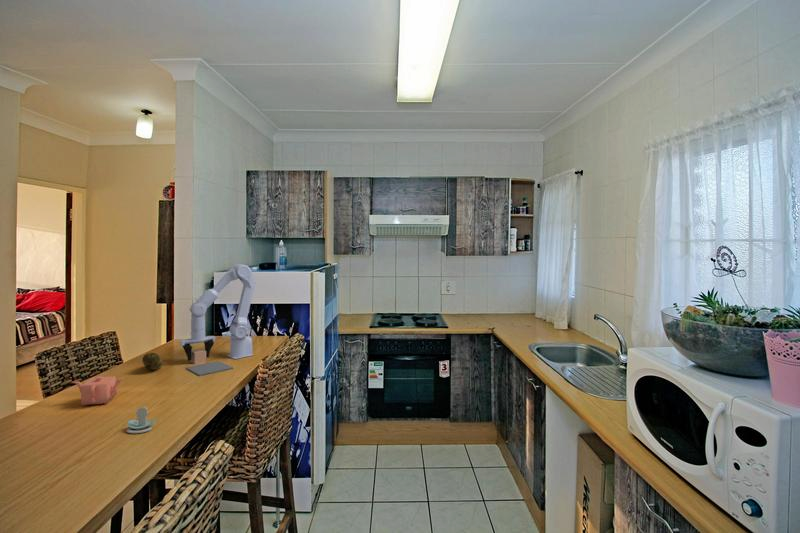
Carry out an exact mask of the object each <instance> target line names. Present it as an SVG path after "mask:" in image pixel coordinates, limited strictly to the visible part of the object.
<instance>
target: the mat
mask: <svg viewBox="0 0 800 533" xmlns="http://www.w3.org/2000/svg"><path fill="white" fill-rule="evenodd" d="M233 369H234V366H231V365H228V364H226V363H224V362H222V361H220V360H217V361H211V362H204V363H199V364H194V365H191V366H186V367H185V370H187V371H190V372H191V373H192V374H195V375H197V376H198V377H203V376H206V375H211V374H216V373H220V372H225V371H230V370H233Z"/></svg>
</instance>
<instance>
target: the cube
mask: <svg viewBox="0 0 800 533" xmlns="http://www.w3.org/2000/svg"><path fill="white" fill-rule="evenodd" d="M189 362H190V363H192V364H194V365H198V364H203V363H207V357H206V351H205V349H202V348H200V349H194V350H192V351H191V361H189ZM202 362H203V363H202ZM197 363H198V364H197Z"/></svg>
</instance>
